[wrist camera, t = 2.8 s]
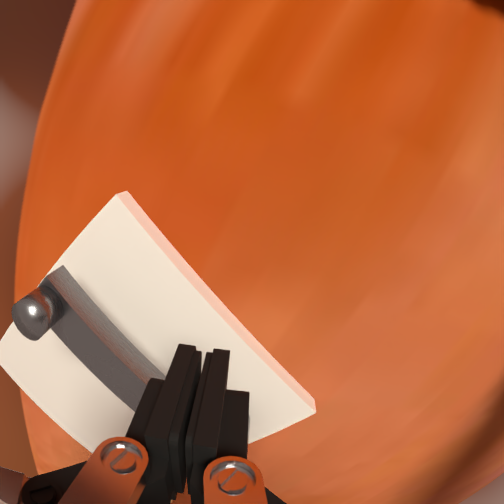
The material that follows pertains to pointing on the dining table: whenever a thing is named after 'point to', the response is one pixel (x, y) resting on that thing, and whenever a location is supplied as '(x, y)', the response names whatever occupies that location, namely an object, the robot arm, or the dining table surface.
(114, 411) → the door board
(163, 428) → the robot arm
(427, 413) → the dining table surface
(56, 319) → the bar
